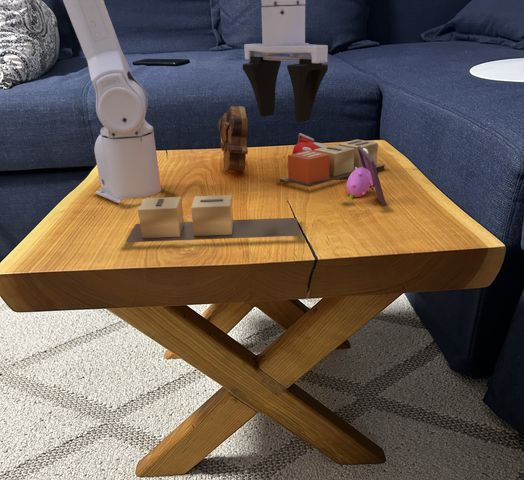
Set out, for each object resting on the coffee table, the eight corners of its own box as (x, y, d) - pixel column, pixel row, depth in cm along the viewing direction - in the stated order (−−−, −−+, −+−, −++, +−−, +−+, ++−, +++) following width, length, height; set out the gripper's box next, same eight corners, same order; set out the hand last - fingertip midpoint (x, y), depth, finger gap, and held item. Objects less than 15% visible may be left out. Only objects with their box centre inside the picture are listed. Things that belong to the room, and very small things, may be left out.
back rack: (309, 192, 81) (309, 161, 79) (279, 184, 85) (278, 155, 83) (384, 170, 90) (386, 142, 88) (354, 163, 94) (355, 137, 92)
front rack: (126, 248, 64) (119, 212, 62) (136, 229, 69) (130, 195, 67) (300, 242, 64) (300, 204, 62) (296, 223, 69) (296, 188, 67)
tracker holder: (357, 155, 94) (320, 151, 87) (347, 181, 96) (310, 178, 89) (307, 130, 100) (269, 124, 93) (299, 154, 103) (261, 150, 96)
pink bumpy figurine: (379, 158, 68) (364, 143, 76) (339, 174, 69) (328, 158, 77) (393, 208, 72) (377, 189, 80) (354, 223, 73) (343, 202, 80)
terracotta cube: (308, 183, 81) (308, 158, 80) (288, 178, 84) (287, 154, 83) (329, 177, 84) (329, 153, 82) (308, 172, 87) (308, 149, 85)
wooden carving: (213, 161, 100) (208, 100, 94) (238, 159, 100) (234, 98, 95) (229, 184, 86) (225, 115, 81) (258, 181, 87) (255, 112, 81)
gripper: (345, 3, 70) (341, 119, 77) (269, 7, 79) (271, 109, 86) (305, 5, 66) (304, 126, 73) (230, 8, 76) (236, 115, 83)
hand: (284, 118), depth 80 cm, fingers open, 7 cm apart
